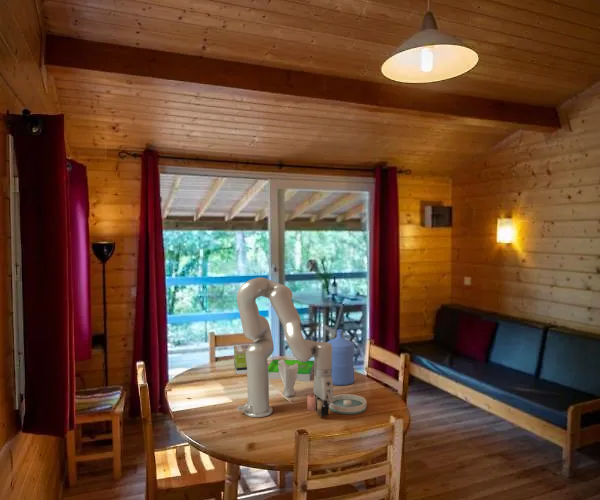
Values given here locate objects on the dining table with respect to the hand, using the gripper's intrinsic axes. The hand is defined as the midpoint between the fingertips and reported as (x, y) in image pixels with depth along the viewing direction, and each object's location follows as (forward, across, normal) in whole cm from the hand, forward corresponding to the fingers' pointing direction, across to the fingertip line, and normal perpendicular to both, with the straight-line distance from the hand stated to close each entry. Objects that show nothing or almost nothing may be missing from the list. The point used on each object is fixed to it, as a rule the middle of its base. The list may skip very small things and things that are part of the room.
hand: (321, 412), depth 197 cm
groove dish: (+2, +5, -16) cm, 17 cm away
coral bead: (+2, +10, -1) cm, 11 cm away
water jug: (+2, +38, -33) cm, 50 cm away
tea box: (+4, +78, +8) cm, 79 cm away
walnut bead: (+1, 0, 0) cm, 1 cm away
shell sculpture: (+3, +31, +1) cm, 32 cm away
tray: (+4, +63, -15) cm, 65 cm away
